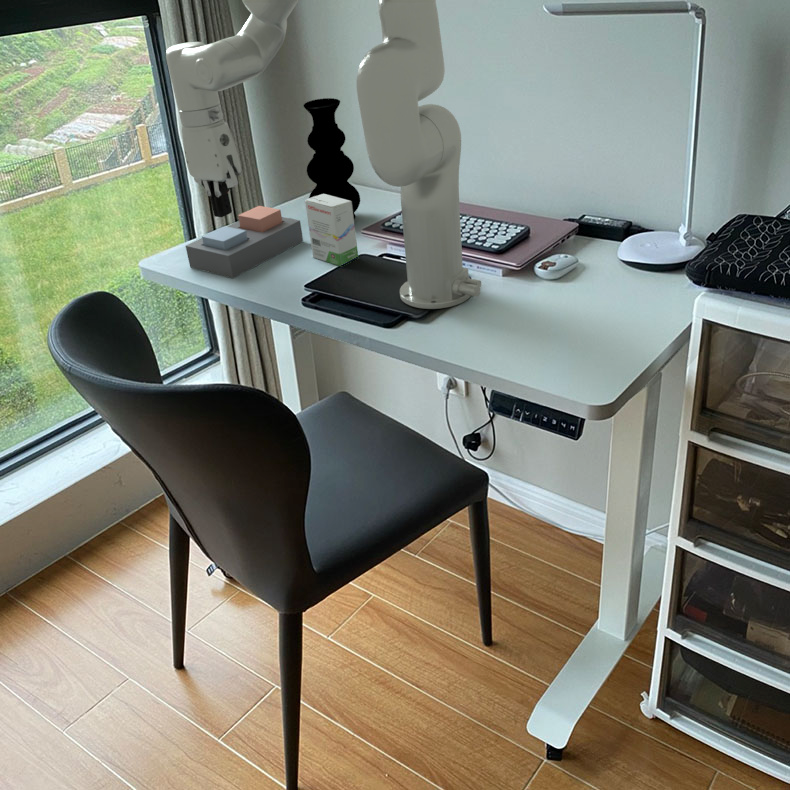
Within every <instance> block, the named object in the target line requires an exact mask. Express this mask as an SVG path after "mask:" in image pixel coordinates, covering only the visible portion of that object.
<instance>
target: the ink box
mask: <svg viewBox="0 0 790 790" xmlns="http://www.w3.org/2000/svg"><path fill="white" fill-rule="evenodd" d="M304 203H305V210H306V217H307V224H308V225H307V226H308V230H309V238H310V245H311V253H312V258H314V259H316V260H320V261H323V262H326V263H328V264H332V265H335V266H338V267H341V266H340V265H342V264H344V263H346V262H348V261H350V260H352V259H354V258H356V257H358V258H359V252H358V243H357V235H356V227H355V219H354V218H353V209H352V201H349V200H346V199H342V198H338V197H334V196H330V195H327V194H321V195H318V196H315V197H312V198H309V197H308V198H306V199H305V200H304Z"/></svg>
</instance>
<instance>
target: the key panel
mask: <svg viewBox="0 0 790 790" xmlns="http://www.w3.org/2000/svg"><path fill="white" fill-rule="evenodd" d="M282 222H283V223H280V224H278V225H276V226H274V227H272V228H270V229H268V230H266V231H264V232H262V233H261V232H256V231H251V230H247V229H242V228H240V223H239V220H238V221H235V222H233V223H231V224H229V225H227V226H226V227H231V228H235V229H240V230H245V231H246V233H247V239H248V240H246V241H244V242H242V243H240V244H238V245H236V246H234V247H232V248H230V249H227V250H225V251H224V250H220V249H216V248H211V247H207V246H204V244H203V239H202V237H201V238H199V239H197V240H195V241H192V242H190V243H188V244H187V245H185V250H186V251H185V252H186V255H187V259H188V264H189V267H190V268H191V269H194V270H199V271H203V272H207V273H211V274H215V275H219V276H223V277H227V278H231V279H234V278H236V277H239V276H240V275H242V274H243V273H246V272H248V271H250V270H251V269H253V268H256V267H257V266H259V265H261V264H263V263H265V262H266V261H269V260H271V259H273V258H275V257H276V256H279V255H281V254H282V253H284V252H286V251H288V250H290V249H292V248H294V247H296V246H297V245H299V244H301V243H304V238H303V232H302V231H303V230H302V224H301V220H299V219H295V218H290V217H289V218H288V217H284V216H282Z"/></svg>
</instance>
